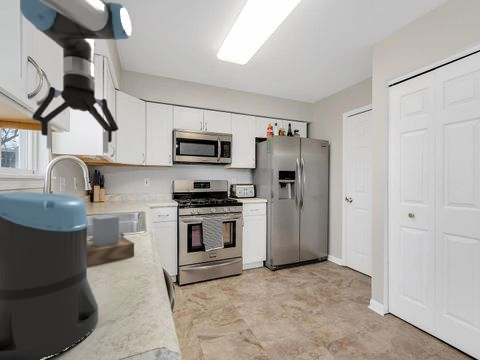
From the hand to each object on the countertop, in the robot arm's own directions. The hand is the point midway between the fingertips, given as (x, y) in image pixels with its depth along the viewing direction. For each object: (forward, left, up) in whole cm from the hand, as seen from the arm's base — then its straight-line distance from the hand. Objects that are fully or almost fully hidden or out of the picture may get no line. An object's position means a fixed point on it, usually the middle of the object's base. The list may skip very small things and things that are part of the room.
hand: (79, 150), depth 66 cm
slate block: (+9, +8, -30) cm, 32 cm away
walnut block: (+9, +8, -35) cm, 37 cm away
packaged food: (+15, +29, -35) cm, 48 cm away
